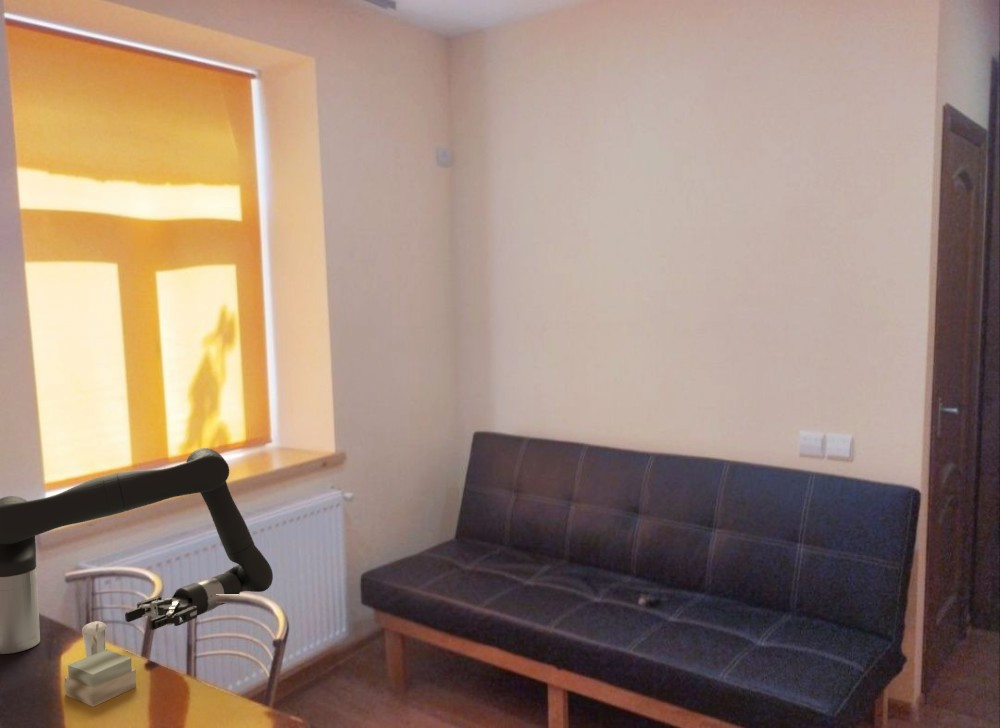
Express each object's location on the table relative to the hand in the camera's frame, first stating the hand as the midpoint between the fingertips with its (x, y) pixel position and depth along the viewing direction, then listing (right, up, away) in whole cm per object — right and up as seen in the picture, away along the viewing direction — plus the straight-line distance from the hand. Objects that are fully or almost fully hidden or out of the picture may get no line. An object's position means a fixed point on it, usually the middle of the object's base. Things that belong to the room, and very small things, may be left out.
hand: (138, 621), depth 175 cm
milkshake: (-5, -7, -8) cm, 12 cm away
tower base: (+1, -7, -19) cm, 20 cm away
